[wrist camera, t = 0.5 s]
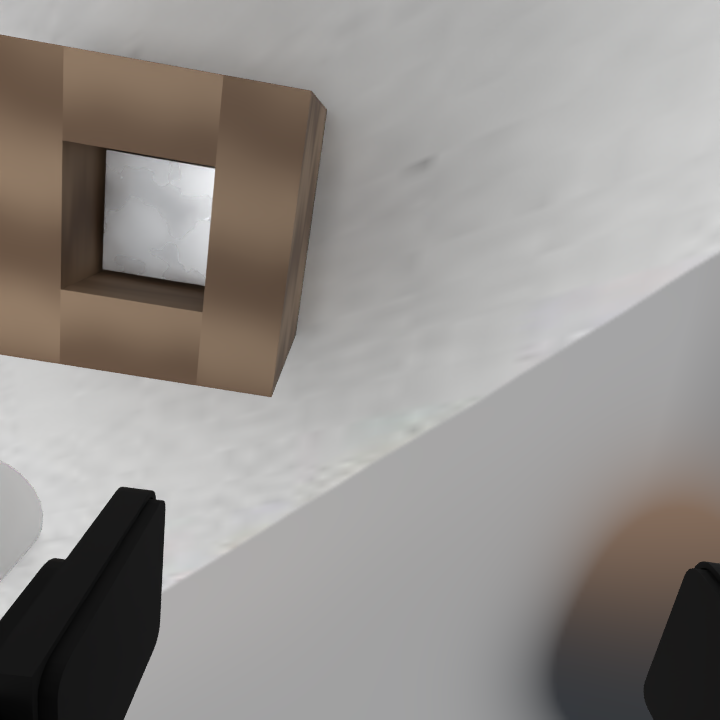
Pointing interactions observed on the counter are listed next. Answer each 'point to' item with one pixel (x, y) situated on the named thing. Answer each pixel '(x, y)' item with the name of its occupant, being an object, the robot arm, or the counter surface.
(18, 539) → the cylinder with rectangular tab
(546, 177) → the counter surface
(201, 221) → the white marbled square tile
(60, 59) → the socket block
